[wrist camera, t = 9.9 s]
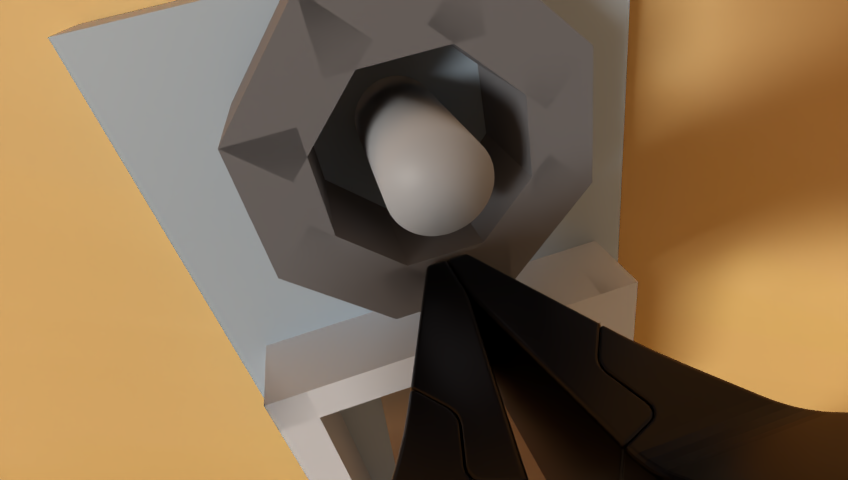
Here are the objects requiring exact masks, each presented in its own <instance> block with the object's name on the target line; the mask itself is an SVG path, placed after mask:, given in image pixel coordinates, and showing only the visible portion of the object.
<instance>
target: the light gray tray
mask: <svg viewBox="0 0 848 480" xmlns="http://www.w3.org/2000/svg"><path fill="white" fill-rule="evenodd" d="M279 1H280V0H178V1H173V2H169V3H165V4H161V5H157V6H153V7H149V8H144V9H140V10H136V11H132V12H128V13H124V14H120V15H115V16H111V17H107V18H103V19H99V20H95V21H91V22H86V23H82V24H78V25H76V26H74V27H71V28H69V29H66V30H64V31H62V32H59V33H57V34H55V35H52V36H50V37H48V38H49V40H50V42H51V43H52V45H53V47H54V48H55V50H56V52H57V53H58V55H59V57H60V58H61V60H62V62H63V63H64V65H65V67H66V68H67V70H68V72H69V73H70V75H71V77H72V78H73V80H74V82H75V83H76V85H77V87H78V88H79V90H80V92H81V93H82V95H83V97H84V98H85V100H86V102H87V103H88V105H89V107H90V108H91V110H92V112H93V113H94V115H95V117H96V118H97V120H98V122H99V123H100V125H101V127H102V128H103V130H104V132H105V133H106V135H107V137H108V138H109V140H110V142H111V143H112V145H113V147H114V148H115V150H116V152H117V153H118V155H119V157H120V159H121V160H122V162H123V164H124V165H125V167H126V169H127V170H128V172H129V174H130V175H131V177H132V179H133V180H134V182H135V184H136V185H137V187H138V189H139V190H140V192H141V194H142V195H143V197H144V199H145V200H146V202H147V204H148V205H149V207H150V209H151V210H152V212H153V214H154V215H155V217H156V219H157V220H158V222H159V224H160V225H161V227H162V229H163V230H164V232H165V234H166V235H167V237H168V239H169V240H170V242H171V244H172V245H173V247H174V249H175V250H176V252H177V254H178V255H179V257H180V259H181V260H182V262H183V264H184V265H185V267H186V269H187V270H188V272H189V274H190V275H191V277H192V279H193V280H194V282H195V284H196V285H197V287H198V289H199V290H200V292H201V294H202V295H203V297H204V299H205V300H206V302H207V304H208V305H209V307H210V309H211V310H212V312H213V314H214V315H215V317H216V319H217V320H218V322H219V324H220V325H221V327H222V329H223V330H224V332H225V334H226V336H227V337H228V339H229V341H230V342H231V344H232V346H233V347H234V349H235V351H236V352H237V354H238V356H239V357H240V359H241V361H242V362H243V364H244V366H245V367H246V369H247V371H248V372H249V374H250V376H251V377H252V379H253V381H254V382H255V384H256V386H257V387H258V389H259V391H260V392H261V394H262V396H263V397H264V407H265V408H266V410H267V412H268V413H269V415H270V417H271V418H272V420H273V422H274V423H275V425H276V427H277V428H278V430H279V431H280V433H281V435H282V436H283V438H284V440H285V441H286V443H287V445H288V446H289V448H290V450H291V451H292V453H293V455H294V456H295V458H296V459H297V461H298V463H299V464H300V466H301V468H302V469H303V471H304V473H305V474H306V476H307V478H308V479H309V480H391V479H392V476H393V472H394V469H395V460H394V456H393V451H392V447H391V442H390V438H389V433H388V428H387V424H386V419H385V415H384V410H383V406H382V401H381V397H382V396H385V395H388V394H391V393H394V392H397V391H400V390H403V389H406V388H409V387H411V381H412V374H413V366H414V358H415V351H416V343H417V336H418V328H419V321H420V313H421V312H418V313H414V314H411V315H408V316H405V317H402V318H399V319H394V318H391V317H389V316H386V315H383V314H380V313H377V312H374V311H371V310H368V309H365V308H362V307H360V306H357V305H354V304H351V303H348V302H345V301H342V300H339V299H336V298H334V297H331V296H328V295H325V294H322V293H319V292H316V291H313V290H310V289H308V288H305V287H302V286H299V285H296V284H293V283H290V282H287V281H284V280H281V279H279V278H278V277H277V275H276V272H275V270H274V268H273V266H272V264H271V262H270V260H269V257H268V255H267V253H266V251H265V249H264V247H263V245H262V243H261V240H260V238H259V236H258V234H257V232H256V230H255V228H254V225H253V223H252V221H251V219H250V217H249V215H248V213H247V211H246V208H245V206H244V204H243V202H242V200H241V198H240V196H239V193H238V191H237V189H236V187H235V185H234V183H233V181H232V178H231V176H230V174H229V172H228V170H227V168H226V166H225V164H224V161H223V159H222V157H221V155H220V153H219V151H218V146H219V143H220V139H221V136H222V133H223V129H224V126H225V123H226V119H227V116H228V113H229V109H230V106H231V103H232V101H233V99H234V96H235V94H236V92H237V90H238V88H239V86H240V84H241V82H242V79H243V77H244V75H245V73H246V71H247V69H248V67H249V65H250V63H251V60H252V58H253V56H254V54H255V52H256V50H257V48H258V46H259V43H260V41H261V39H262V37H263V35H264V33H265V31H266V29H267V26H268V24H269V22H270V20H271V18H272V16H273V14H274V12H275V10H276V7H277V5H278V3H279ZM541 1H542V2H543V3H544V4H545V5H547V6H548V7H549V8H550V9H551V10H552V11H554V12H555V13H556V14H557V15H558V16H559V17H561V18H562V19H563V20H564V21H565V22H566V23H568V24H569V25H570V26H571V27H572V28H573V29H574V30H576V31H577V32H578V33H579V34H580V35H581V36H583V37H584V38H585V39H586V40H587V41H588V42H590V43H591V44H592V45H593V164H592V183H591V185H590V186H589V187H588V188H587V190H586V191H585V192H584V193H583V195H582V196H581V197H580V199H579V200H578V201H577V202H576V204H575V205H574V206H573V207H572V209H571V210H570V211H569V212H568V214H567V215H566V216H565V217H564V219H563V220H562V221H561V222H560V224H559V225H558V226H557V227H556V229H555V230H554V231H553V232H552V234H551V235H550V236H549V237H548V239H547V240H546V241H545V242H544V244H543V245H542V246H541V247H540V249H539V250H538V251H537V252H536V254H535V255H534V256H533V257H532V259H531V260H530V261H529V262H528V264H527V265H526V266H525V267H524V269H523V270H522V271H521V272H520V274H519V275H518V276H517V277H516V280H518V281H520V282H522V283H524V284H525V285H527V286H529V287H531V288H533V289H535V290H537V291H539V292H541V293H543V294H544V295H546V296H548V297H550V298H552V299H554V300H556V301H558V302H560V303H562V304H563V305H565V306H567V307H569V308H571V309H573V310H575V311H577V312H579V313H581V314H582V315H584V316H586V317H588V318H590V319H592V320H594V321H596V322H598V323H599V324H600V325H601V326H606V327H607V328H609V329H611V330H613V331H615V332H617V333H619V334H621V335H623V336H625V337H627V338H629V339H631V340H633V341H634V328H635V315H636V302H637V289H638V281H637V280H636V279H635V278H634V277H633V276H632V275H630V274H629V273H628V272H627V271H626V270H625V269H624V268H623V267H622V266H621V265H620V264H619V263H618V249H619V227H620V206H621V184H622V162H623V140H624V118H625V96H626V74H627V53H628V31H629V9H630V0H541ZM485 134H486V128H485V120H484V112H483V104H482V96H481V88H480V80H479V72H478V64H477V63H475V62H474V61H472V60H471V59H470V58H468V57H467V56H465V55H464V54H463V53H461V52H460V51H458V50H457V49H456V48H454V47H453V46H451V45H447V46H443V47H439V48H436V49H432V50H428V51H424V52H420V53H417V54H413V55H409V56H405V57H402V58H398V59H394V60H390V61H387V62H383V63H379V64H375V65H372V66H368V67H364V68H360V69H357V70H355V71H354V73H353V75H352V77H351V79H350V80H349V82H348V84H347V86H346V88H345V89H344V91H343V93H342V95H341V97H340V98H339V100H338V102H337V104H336V106H335V108H334V109H333V111H332V113H331V115H330V117H329V118H328V120H327V122H326V124H325V126H324V127H323V129H322V131H321V133H320V135H319V136H318V138H317V140H316V142H315V144H314V145H313V146H314V149H315V152H316V155H317V158H318V161H319V164H320V166H321V169H322V172H323V175H324V178H325V180H327V181H329V182H331V183H333V184H335V185H337V186H340V187H342V188H344V189H346V190H348V191H350V192H352V193H355V194H357V195H359V196H361V197H363V198H365V199H367V200H369V201H372V202H374V203H376V204H378V205H380V206H382V207H384V208H386V207H387V209H388V211H389V213H390V215H391V216H392V218H393V219H394V220H395V221H396V222H397V223H398V224H399V225H400V226H401V227H403V228H404V229H406V230H408V231H410V232H412V233H415V234H418V235H423V236H440V235H446V234H450V233H452V232H455V231H457V230H459V229H461V228H463V227H465V226H466V225H468V224H469V223H470V222H472V221H473V220H474V219H475V218H476V217H477V216H478V215H479V214H480V213H481V212H482V210H483V209H484V208H485V206H486V205H487V203H488V201H489V199H490V197H491V194H492V191H493V186H494V178H495V177H494V167H493V163H492V160H491V158H490V156H489V154H488V152H487V151H486V149H485V148H484V147H483V146H482V145H481V144H480V142H481V140H482V139H483V137H484V136H485Z"/></svg>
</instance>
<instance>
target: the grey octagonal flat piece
mask: <svg viewBox="0 0 848 480" xmlns="http://www.w3.org/2000/svg"><path fill="white" fill-rule="evenodd" d="M447 45H451V46H453V47H454V48H456V49H457V50H458V51H460V52H461V53H463V54H464V55H465V56H467V57H468V58H470V59H471V60H472V61H474V62H475V63H477V64H478V72H479V80H480V88H481V96H482V104H483V112H484V120H485V128H486V134H485V136H484V137H483V139H482V140H481V142H480V144H481V145H482V146H483V147H484V148H485V149H486V151H487V152H488V154H489V156H490V158H491V160H492V163H493V167H494V177H495V178H494V186H493V191H492V194H491V197H490V199H489V201H488V203H487V205H486V206H485V208H484V209H483V210H482V212H481V213H480V214H479V215H478V216H477V217H476V218H475V219H474V220H473V221H472V222H470V223H469V224H468V225H466V226H465V227H463V228H461V229H459V230H457V231H455V232H452V233H450V234H446V235H440V236H423V235H418V234H415V233H412V232H410V231H408V230H406V229H404V228H403V227H401V226H400V225H399V224H398V223H397V222H396V221H395V220H394V219H393V218H392V216H391V215H390V213H389V211H388V209H387V207H386V208H384V207H382V206H380V205H378V204H376V203H374V202H372V201H369V200H367V199H365V198H363V197H361V196H359V195H357V194H355V193H352V192H350V191H348V190H346V189H344V188H342V187H340V186H337V185H335V184H333V183H331V182H329V181H327V180H325V178H324V175H323V172H322V169H321V166H320V164H319V161H318V158H317V155H316V152H315V149H314V146H313V145H314V144H315V142H316V140H317V138H318V136H319V135H320V133H321V131H322V129H323V127H324V126H325V124H326V122H327V120H328V118H329V117H330V115H331V113H332V111H333V109H334V108H335V106H336V104H337V102H338V100H339V98H340V97H341V95H342V93H343V91H344V89H345V88H346V86H347V84H348V82H349V80H350V79H351V77H352V75H353V73H354V71H355V70H357V69H360V68H364V67H368V66H372V65H375V64H379V63H383V62H387V61H390V60H394V59H398V58H402V57H405V56H409V55H413V54H417V53H420V52H424V51H428V50H432V49H436V48H439V47H443V46H447ZM218 151H219V153H220V155H221V157H222V159H223V161H224V164H225V166H226V168H227V170H228V172H229V174H230V176H231V178H232V181H233V183H234V185H235V187H236V189H237V191H238V193H239V196H240V198H241V200H242V202H243V204H244V206H245V208H246V211H247V213H248V215H249V217H250V219H251V221H252V223H253V225H254V228H255V230H256V232H257V234H258V236H259V238H260V240H261V243H262V245H263V247H264V249H265V251H266V253H267V255H268V257H269V260H270V262H271V264H272V266H273V268H274V270H275V272H276V275H277V277H278V278H279V279H281V280H284V281H287V282H290V283H293V284H296V285H299V286H302V287H305V288H308V289H310V290H313V291H316V292H319V293H322V294H325V295H328V296H331V297H334V298H336V299H339V300H342V301H345V302H348V303H351V304H354V305H357V306H360V307H362V308H365V309H368V310H371V311H374V312H377V313H380V314H383V315H386V316H389V317H391V318H394V319H399V318H402V317H405V316H408V315H411V314H414V313H418V312H421V305H422V298H423V290H424V283H425V275H426V269H427V267H428V266H429V265H432V264H435V263H438V262H442V261H446V262H448V260H449V259H451V258H454V257H458V256H461V255H464V254H468V255H470V256H472V257H474V258H476V259H478V260H480V261H482V262H484V263H486V264H488V265H489V266H491V267H493V268H495V269H497V270H499V271H501V272H503V273H505V274H506V275H508V276H510V277H512V278H514V279H516V277H517V276H518V275H519V274H520V272H521V271H522V270H523V269H524V267H525V266H526V265H527V264H528V262H529V261H530V260H531V259H532V257H533V256H534V255H535V254H536V252H537V251H538V250H539V249H540V247H541V246H542V245H543V244H544V242H545V241H546V240H547V239H548V237H549V236H550V235H551V234H552V232H553V231H554V230H555V229H556V227H557V226H558V225H559V224H560V222H561V221H562V220H563V219H564V217H565V216H566V215H567V214H568V212H569V211H570V210H571V209H572V207H573V206H574V205H575V204H576V202H577V201H578V200H579V199H580V197H581V196H582V195H583V193H584V192H585V191H586V190H587V188H588V187H589V186H590V185H591V183H592V164H593V45H592V44H591V43H590V42H588V41H587V40H586V39H585V38H584V37H583V36H581V35H580V34H579V33H578V32H577V31H576V30H574V29H573V28H572V27H571V26H570V25H569V24H568V23H566V22H565V21H564V20H563V19H562V18H561V17H559V16H558V15H557V14H556V13H555V12H554V11H552V10H551V9H550V8H549V7H548V6H547V5H545V4H544V3H543V2H542V1H541V0H280V1H279V3H278V5H277V7H276V10H275V12H274V14H273V16H272V18H271V20H270V22H269V24H268V26H267V29H266V31H265V33H264V35H263V37H262V39H261V41H260V43H259V46H258V48H257V50H256V52H255V54H254V56H253V58H252V60H251V63H250V65H249V67H248V69H247V71H246V73H245V75H244V77H243V79H242V82H241V84H240V86H239V88H238V90H237V92H236V94H235V96H234V99H233V101H232V103H231V106H230V109H229V113H228V116H227V119H226V123H225V126H224V129H223V133H222V136H221V139H220V143H219V146H218Z"/></svg>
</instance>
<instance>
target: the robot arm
mask: <svg viewBox="0 0 848 480" xmlns="http://www.w3.org/2000/svg"><path fill="white" fill-rule="evenodd" d="M505 407H506V409H507V411H508V413H509V415H510V416H511V418H512V420H513V422H514V424H515V425H516V427H517V429H518V431H519V432H520V434H521V436H522V438H523V440H524V441H525V443H526V445H527V447H528V449H529V450H530V452H531V454H532V456H533V457H534V459H535V461H536V463H537V465H538V466H539V468H540V470H541V472H542V474H543V475H544V477H545V479H546V480H848V413H844V412H823V411H815V410H807V409H803V408H798V407H794V406H790V405H787V404H783V403H780V402H777V401H774V400H771V399H769V398H766V397H763V396H761V395H758V394H756V393H754V392H751V391H749V390H746V389H744V388H741V387H739V386H737V385H734V384H732V383H729V382H727V381H724V380H722V379H720V378H717V377H715V376H712V375H710V374H708V373H705V372H703V371H700V370H698V369H695V368H693V367H691V366H688V365H686V364H683V363H681V362H679V361H676V360H674V359H672V358H670V357H667V356H665V355H663V354H660V353H658V352H656V351H654V350H651V349H649V348H647V347H645V346H643V345H641V344H639V343H637V342H635V341H633V340H631V339H629V338H627V337H625V336H623V335H621V334H619V333H617V332H615V331H613V330H611V329H609V328H607V327H606V326H601V325H600V324H599V323H598V322H596V321H594V320H592V319H590V318H588V317H586V316H584V315H582V314H581V313H579V312H577V311H575V310H573V309H571V308H569V307H567V306H565V305H563V304H562V303H560V302H558V301H556V300H554V299H552V298H550V297H548V296H546V295H544V294H543V293H541V292H539V291H537V290H535V289H533V288H531V287H529V286H527V285H525V284H524V283H522V282H520V281H518V280H516V279H514V278H512V277H510V276H508V275H506V274H505V273H503V272H501V271H499V270H497V269H495V268H493V267H491V266H489V265H488V264H486V263H484V262H482V261H480V260H478V259H476V258H474V257H472V256H470V255H468V254H464V255H461V256H458V257H454V258H451V259H449V260H448V262H446V261H442V262H438V263H435V264H432V265H429V266H428V267H427V269H426V275H425V283H424V290H423V298H422V305H421V313H420V321H419V328H418V336H417V343H416V351H415V358H414V366H413V374H412V381H411V392H410V394H409V402H408V409H407V415H406V421H405V427H404V432H403V437H402V441H401V445H400V449H399V454H398V458H397V462H396V465H395V469H394V472H393V476H392V479H391V480H528V477H527V474H526V471H525V468H524V465H523V461H522V458H521V455H520V452H519V449H518V446H517V443H516V440H515V437H514V434H513V431H512V428H511V425H510V422H509V419H508V415H507V412H506V409H505Z"/></svg>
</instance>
